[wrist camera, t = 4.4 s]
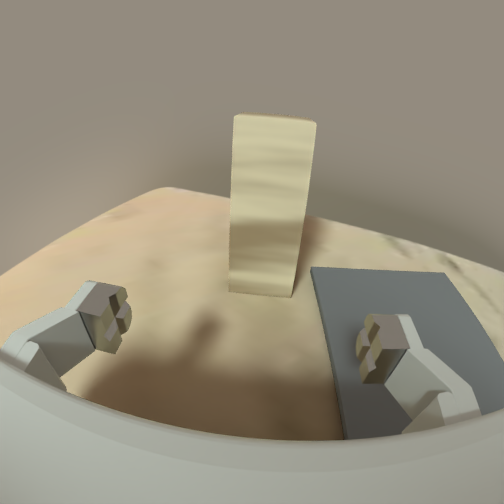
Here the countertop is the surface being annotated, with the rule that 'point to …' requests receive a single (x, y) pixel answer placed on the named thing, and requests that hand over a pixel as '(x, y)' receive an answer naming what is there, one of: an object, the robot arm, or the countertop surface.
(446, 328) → the rubber mat
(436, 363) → the robot arm
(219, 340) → the countertop surface
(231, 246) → the maple block
